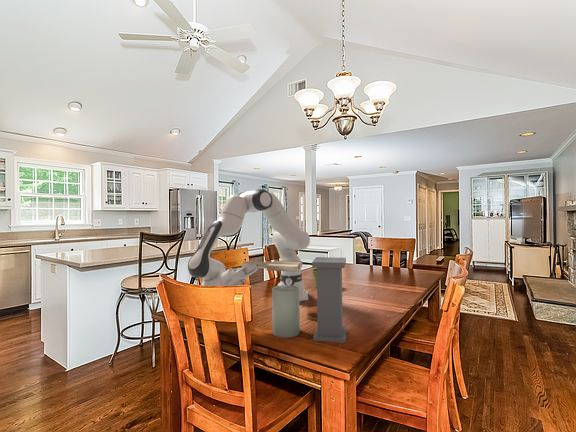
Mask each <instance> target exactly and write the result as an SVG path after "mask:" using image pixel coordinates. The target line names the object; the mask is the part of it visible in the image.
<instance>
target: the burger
mask: <svg viewBox="0 0 576 432" xmlns="http://www.w3.org/2000/svg"><path fill="white" fill-rule="evenodd" d="M306 317H307V319H309V320H310V321H315V322H316V321H317V306H311V307H309V308H308V309H307V313H306Z"/></svg>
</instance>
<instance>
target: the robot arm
mask: <svg viewBox="0 0 576 432" xmlns="http://www.w3.org/2000/svg"><path fill="white" fill-rule="evenodd" d="M225 201H226V202H225V203H224V205H223V207H222V209H221V211H220V214H219V216H218V218H217V219H216V220H215V221H213V222H211V223H210V225H209V227H208V228H207V230H206V232H205V233H204V236H203V238H202V239H201V241H200V242H199V245H198V246H197V249H196V250H195V252H194V253H193V254H192V256H191V257H190V259H189V260H188V263H187V270H188V273H189V275H190V276H191V277H194V278H198V279H202V282H201V285H202V286H235V285H241V286H242V284H243V283H244V282H245V281H246V280H247V278H249V277H250V276H251V275H253V274H255V272H257V271H258V270H259V268H257V267H258V266H257V264H256V263H255V264H253V265H251V266H249V267H247V268H246V267H244V268H242V267H237V268H228V269H227V267H226V265H225V264H224V263H223V262H221V261H220V260H217V259H214V258H212V257H211V252H212V251H213V248H214V247H215V245H216V243H217V241H218V239H219V238H220V237H223V236H227V237H228V236H234V235H236V234H238V232H239V231H240V230H241V228H242V226H243V222H244V220H245V216H246V214H247V213H258V212H262V214H263V216H264V217H265V219H266V220H267V222H268V223H269V226H270V227H271V228H272V229H273V230H274V232H273V233H272V237H271V241H272V243H273V244H274V246H275V247H276V249H277V252H278V254H279V259H280V260H279V261H302V260H301V258H300V257H299V256H298V254H297V252H296V251H300V250H306V249H308V248H309V246H310V243H311V237H310V235H309V233H308V232H307V231H306V230H303V229H302V228H301V227H299V225H298V224H296V222H294V220H293V219H292V218H291V217H290V215H289V214H288V213H287V210H286V209H285V207H284V205H283V204H282V201H280V199H279V198H278V197H277V195H275V193H274V192H272V191H268V190H267V189H263V188H258V189H250V190H249V189H248V190H247V191H243V192H240V193H238V194H231V195H230V196H229V197H227V200H225ZM258 262H262V261H260V260H259V261H258ZM279 280H280V282H278V284H277V286H279V285H293V286H297V287H299V303H300V302H303V301H309V293H308V291H306V290H305V283H304V282H303V274H302V267H301V268H300V269H299V270H298V271H297V272H292V271H280V275H279ZM201 285H200V286H201Z"/></svg>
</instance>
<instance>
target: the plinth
mask: <svg viewBox="0 0 576 432" xmlns="http://www.w3.org/2000/svg"><path fill="white" fill-rule="evenodd" d="M346 264H347V257H328V256H327V257H324V256H323V257H322V256H317V257H315V258H314V259H313V261H312V262H311V266H312V268H317V288H316V305H317V324H316V327H315V331H314V333H313V336H312V338H313V339H312V341H314V342H328V343H340V344H345V343H346V340H347V329H348V327H347V326H343V320H344V319H343V269H345V267H346Z"/></svg>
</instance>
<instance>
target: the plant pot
mask: <svg viewBox="0 0 576 432" xmlns="http://www.w3.org/2000/svg"><path fill="white" fill-rule="evenodd" d="M311 271H312V275H313V279H314V284H315V285H314V286H315V288H316V289H317V267H314V268H313V269H311Z"/></svg>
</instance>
